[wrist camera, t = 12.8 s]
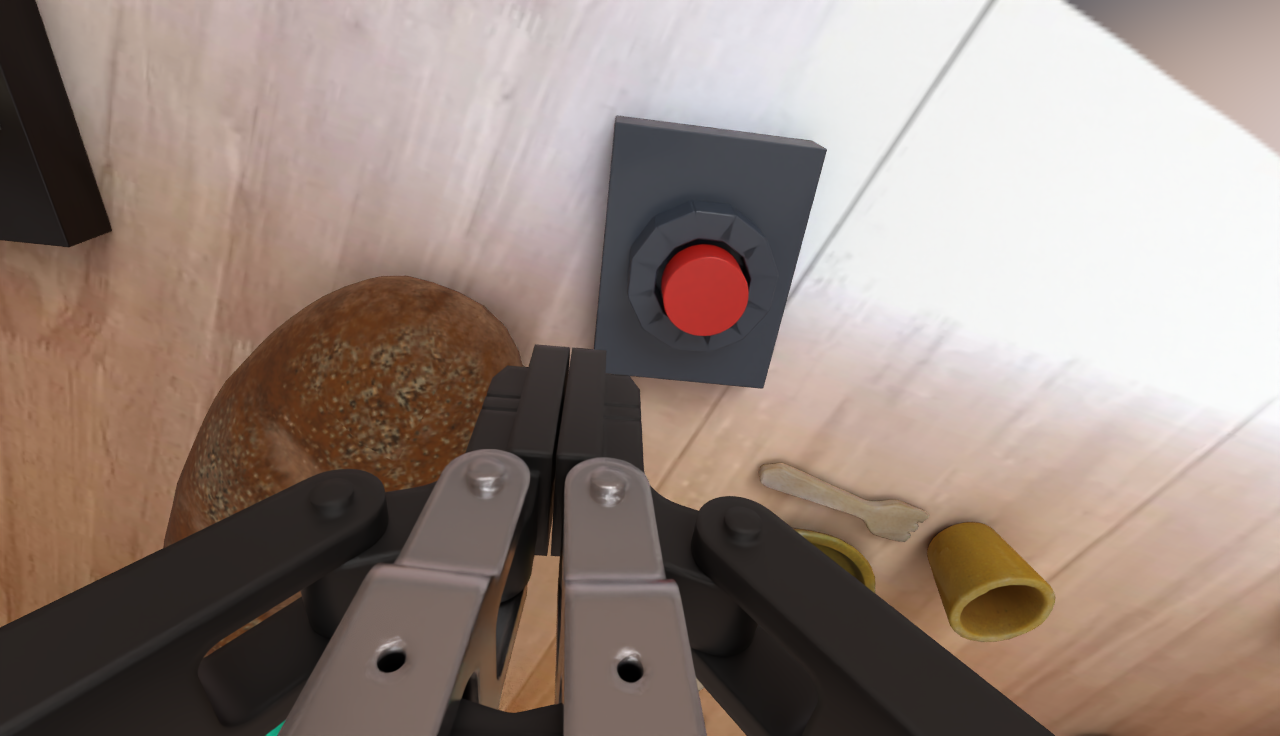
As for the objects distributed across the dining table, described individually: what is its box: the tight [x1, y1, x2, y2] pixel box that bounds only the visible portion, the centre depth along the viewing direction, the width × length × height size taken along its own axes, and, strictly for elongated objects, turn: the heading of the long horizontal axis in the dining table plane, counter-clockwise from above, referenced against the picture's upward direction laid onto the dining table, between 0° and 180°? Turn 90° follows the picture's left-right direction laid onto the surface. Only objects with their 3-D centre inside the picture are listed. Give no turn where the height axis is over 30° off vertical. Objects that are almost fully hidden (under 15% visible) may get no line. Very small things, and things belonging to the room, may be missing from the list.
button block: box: [594, 116, 827, 388], centre depth 27 cm, size 12×9×4 cm
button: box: [661, 244, 749, 336], centre depth 25 cm, size 4×4×2 cm
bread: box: [164, 276, 523, 657], centre depth 31 cm, size 16×29×11 cm, turn 151°
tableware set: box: [696, 463, 1055, 691], centre depth 44 cm, size 41×28×6 cm
